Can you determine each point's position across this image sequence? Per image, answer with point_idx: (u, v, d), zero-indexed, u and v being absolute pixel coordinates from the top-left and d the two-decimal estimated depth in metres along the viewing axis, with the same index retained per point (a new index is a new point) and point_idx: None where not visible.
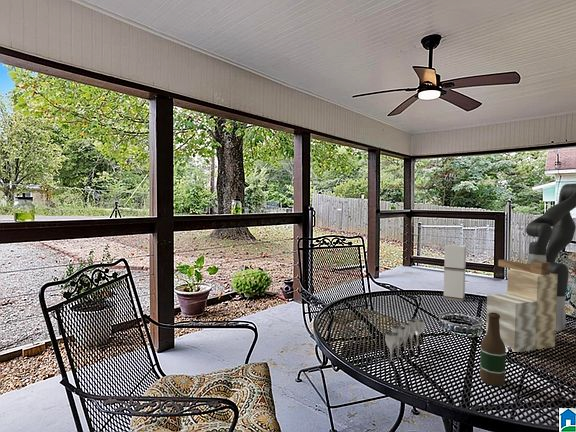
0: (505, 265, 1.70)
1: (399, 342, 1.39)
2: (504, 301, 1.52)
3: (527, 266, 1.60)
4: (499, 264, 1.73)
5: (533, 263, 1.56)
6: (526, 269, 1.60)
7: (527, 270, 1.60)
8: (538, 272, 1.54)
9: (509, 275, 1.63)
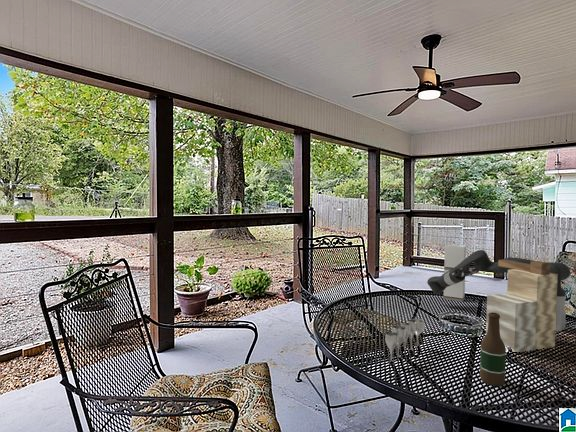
0: (505, 265, 1.70)
1: (399, 342, 1.39)
2: (504, 301, 1.52)
3: (527, 266, 1.60)
4: (499, 264, 1.73)
5: (533, 263, 1.56)
6: (526, 269, 1.60)
7: (527, 270, 1.60)
8: (538, 272, 1.54)
9: (509, 275, 1.63)
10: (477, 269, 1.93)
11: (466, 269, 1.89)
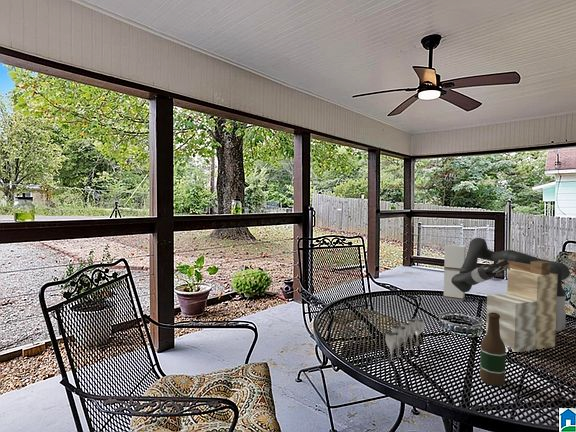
0: (505, 265, 1.70)
1: (399, 342, 1.39)
2: (504, 301, 1.52)
3: (527, 266, 1.60)
4: None
5: (533, 263, 1.56)
6: (526, 269, 1.60)
7: (527, 270, 1.60)
8: (538, 272, 1.54)
9: (509, 275, 1.63)
10: None
11: (504, 263, 1.69)
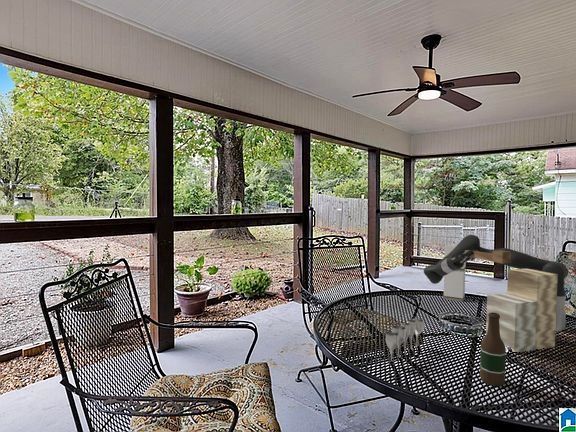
0: (471, 255, 1.75)
1: (399, 342, 1.39)
2: (504, 301, 1.52)
3: (490, 255, 1.64)
4: None
5: (495, 252, 1.60)
6: (489, 258, 1.65)
7: (490, 259, 1.64)
8: (499, 261, 1.58)
9: (509, 275, 1.63)
10: None
11: (470, 253, 1.74)
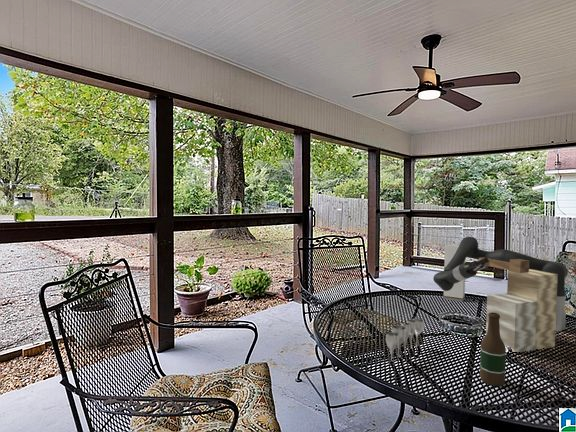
0: (485, 263, 1.67)
1: (399, 342, 1.39)
2: (504, 301, 1.52)
3: (506, 264, 1.56)
4: None
5: (512, 261, 1.52)
6: (505, 267, 1.57)
7: (506, 268, 1.56)
8: (517, 270, 1.50)
9: (509, 275, 1.63)
10: None
11: (484, 261, 1.66)
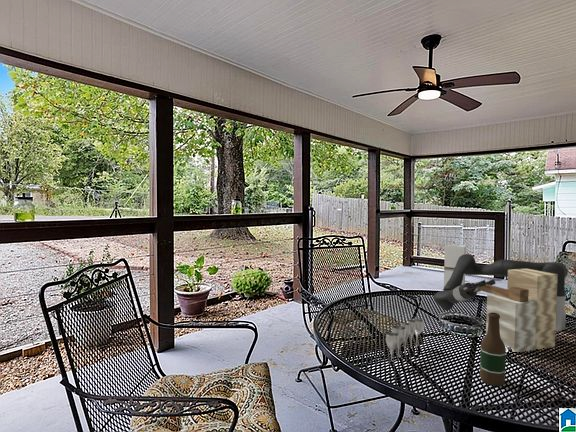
0: (485, 289, 1.67)
1: (399, 342, 1.39)
2: (504, 301, 1.52)
3: (506, 292, 1.57)
4: (479, 288, 1.70)
5: (512, 289, 1.53)
6: (505, 295, 1.57)
7: (506, 296, 1.57)
8: (516, 299, 1.51)
9: (509, 275, 1.63)
10: (490, 283, 1.69)
11: (482, 283, 1.66)
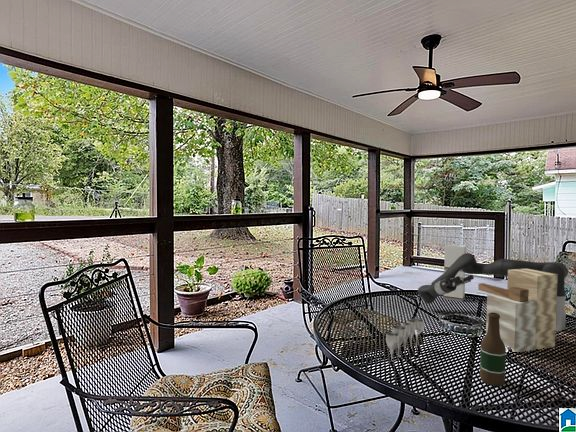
0: (485, 289, 1.67)
1: (399, 342, 1.39)
2: (504, 301, 1.52)
3: (506, 292, 1.57)
4: (479, 288, 1.70)
5: (512, 289, 1.53)
6: (505, 295, 1.57)
7: (506, 296, 1.57)
8: (516, 299, 1.51)
9: (509, 275, 1.63)
10: (469, 278, 1.83)
11: (457, 279, 1.78)
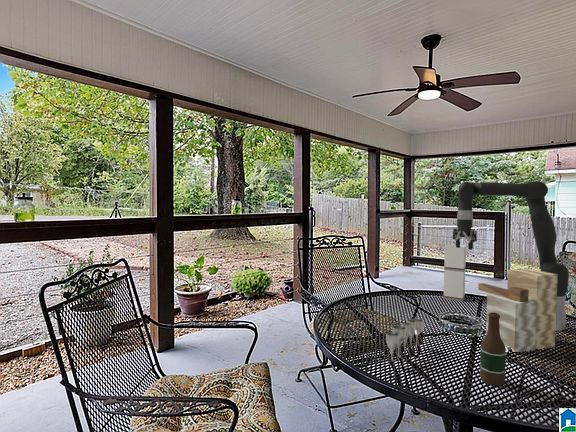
0: (485, 289, 1.67)
1: (399, 342, 1.39)
2: (504, 301, 1.52)
3: (506, 292, 1.57)
4: (479, 288, 1.70)
5: (512, 289, 1.53)
6: (505, 295, 1.57)
7: (506, 296, 1.57)
8: (516, 299, 1.51)
9: (509, 275, 1.63)
10: None
11: None
